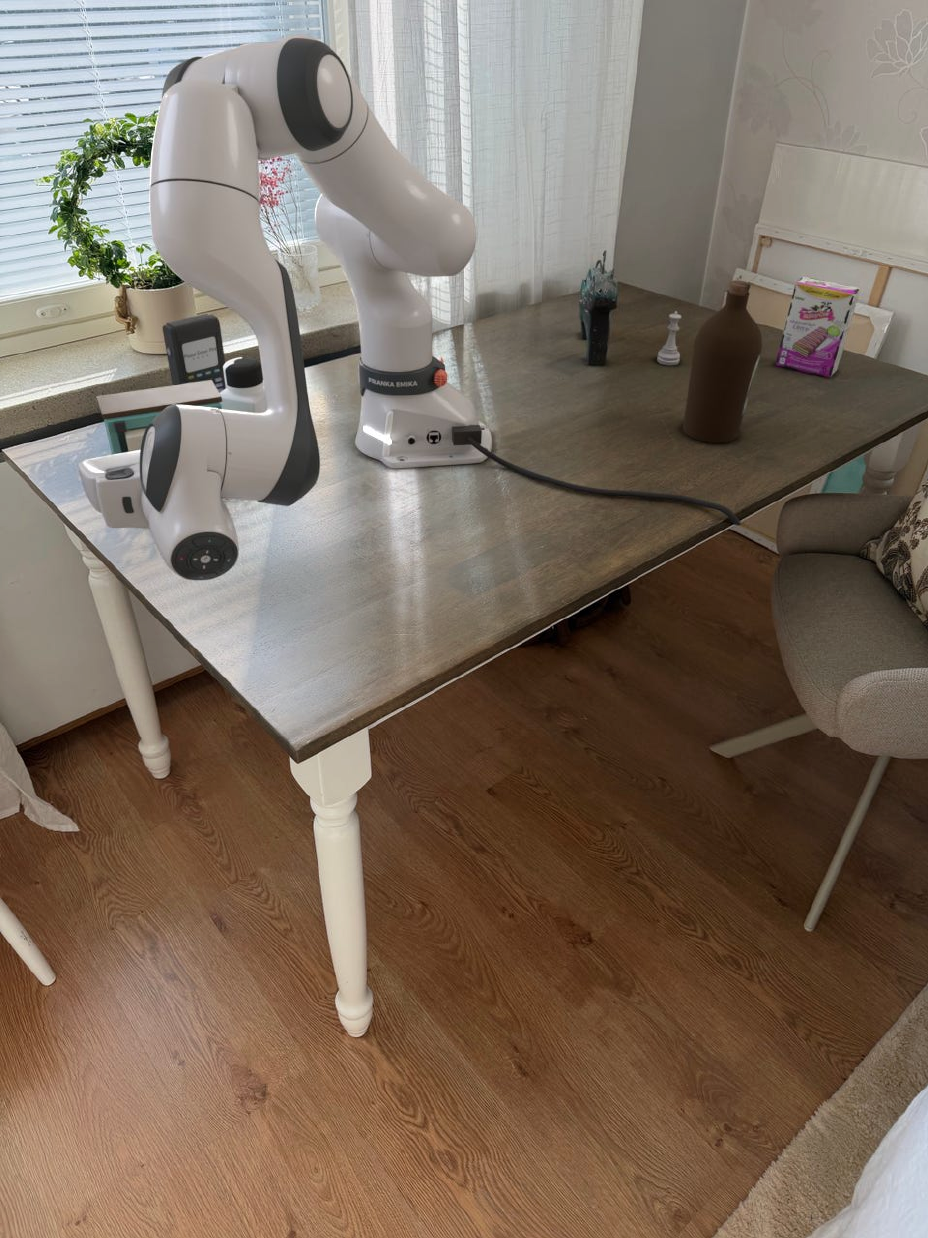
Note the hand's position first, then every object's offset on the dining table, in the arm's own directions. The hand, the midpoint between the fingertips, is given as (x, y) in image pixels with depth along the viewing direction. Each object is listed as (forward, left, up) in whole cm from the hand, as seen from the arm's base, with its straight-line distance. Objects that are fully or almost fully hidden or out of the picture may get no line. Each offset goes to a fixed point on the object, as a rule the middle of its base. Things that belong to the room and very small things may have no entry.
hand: (156, 442), depth 119 cm
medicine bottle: (-4, -33, -14) cm, 36 cm away
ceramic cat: (-65, -74, -14) cm, 100 cm away
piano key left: (+6, -12, -10) cm, 17 cm away
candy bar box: (-107, -67, -14) cm, 127 cm away
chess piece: (-80, -69, -14) cm, 107 cm away
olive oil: (-82, -37, -14) cm, 91 cm away
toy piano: (+5, -18, -14) cm, 23 cm away
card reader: (+6, -43, -14) cm, 46 cm away
